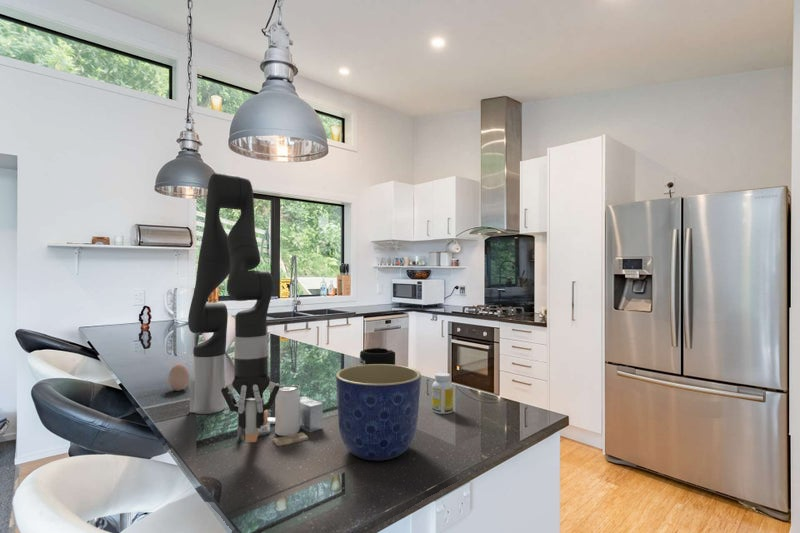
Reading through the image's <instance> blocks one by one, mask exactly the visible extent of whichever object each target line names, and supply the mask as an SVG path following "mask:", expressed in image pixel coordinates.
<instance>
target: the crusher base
mask: <svg viewBox="0 0 800 533" xmlns="http://www.w3.org/2000/svg"><path fill="white" fill-rule="evenodd" d="M323 407H324V406H323V403H322V402H321V401H318V400H315V399H312V398H310V397H307V396H300V429H302V430H305V431H306V432H309V433H313V432H316V431H320V430H322V429H323V416H324V415H323V412H324V411H323V409H324V408H323ZM271 425H275V417H270V416H269V417H268V422H267V423H266V424H264V425H262V426H261V428H260V430H259V433H258V437H261V436H266V435H268V434H269V433H270V432H271ZM243 432H244V429H241V427H239V417H238V416H237V442H242V441H243V438H244V437H243V434H244V433H243ZM245 435H246V433H245Z"/></svg>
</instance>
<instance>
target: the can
mask: <svg viewBox="0 0 800 533" xmlns="http://www.w3.org/2000/svg"><path fill="white" fill-rule="evenodd" d="M299 389H300V388H299V386H298V385H295V384H283V385H281V386H280V388H279V391H278V393H277V395H276V397H275V400H274V402H275V406H274V407H275V409H274V418H275V424H274V432H275V434H276V435H277V436H279V437H284V436H288V435H293V434H297V433H300V429H301V428H300V397H301V392H300V390H299Z"/></svg>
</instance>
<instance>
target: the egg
mask: <svg viewBox="0 0 800 533" xmlns="http://www.w3.org/2000/svg"><path fill="white" fill-rule="evenodd" d="M167 381H168V385H169V387H170V388H171V389H172V390H174V391H176V392H178V391H182V390H184V389H185V388H186V387H187V386H188V384H189V383H190V372H189V369H188V368H187V366H186V365H185V364H183V363H180V362H179V363H178V362H177V363H176V364H175V365H173V366H172V367H171V369H170V371H169V373H168V380H167Z"/></svg>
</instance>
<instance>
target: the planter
mask: <svg viewBox="0 0 800 533" xmlns="http://www.w3.org/2000/svg"><path fill="white" fill-rule="evenodd" d="M421 380H422V374H421V372H420V371H419V370H417V369H416V368H413V367H410V366H405V365H398V364H395V365H390V364H368V365H359V364H358V365H353V366H348V367H345V368H342V369H340V370H338V371H337V372H336V374H335V381H336V382H335V384H336V399H337V400H336V402H337V417H338V430H339V434H340V438H341V441H342V442H343V445H344V446H345V448H346V449H347V450H348V451H349V452H350V453H351V454H352V455H354V456H356V457H358V458H360V459H363V460H367V461H378V462H379V461H387V460H391V459H394V458H395V459H396V458H398V457H399V456H401V455H403V454H404V453H405V452H406V451H407V450H408V449H409V448H410V447H411V445H412V443H413V442H414V439H415V437H416V433H417V430H418V419H419V407H420V406H419V405H420V392H421Z"/></svg>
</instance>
